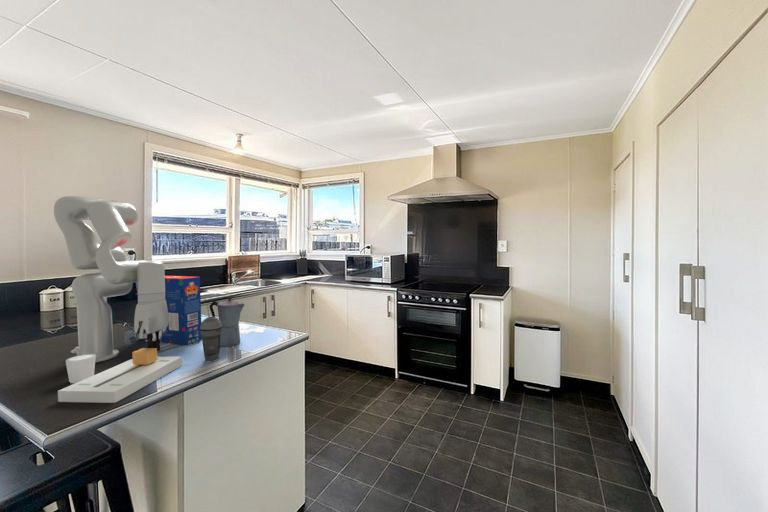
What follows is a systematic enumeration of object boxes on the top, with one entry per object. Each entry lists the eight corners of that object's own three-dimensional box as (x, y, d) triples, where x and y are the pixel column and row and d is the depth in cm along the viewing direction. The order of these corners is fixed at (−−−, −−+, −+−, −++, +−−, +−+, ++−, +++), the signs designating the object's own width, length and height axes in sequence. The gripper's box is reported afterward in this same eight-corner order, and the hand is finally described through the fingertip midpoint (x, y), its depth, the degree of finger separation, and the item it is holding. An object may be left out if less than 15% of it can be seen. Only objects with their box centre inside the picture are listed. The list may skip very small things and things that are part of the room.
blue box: (201, 340, 140) (199, 276, 139) (185, 345, 132) (182, 278, 131) (156, 334, 149) (154, 275, 148) (138, 339, 142) (136, 277, 141)
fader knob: (132, 364, 103) (132, 352, 103) (142, 359, 107) (142, 348, 107) (147, 364, 102) (147, 352, 102) (157, 360, 106) (156, 348, 106)
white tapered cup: (79, 375, 103) (78, 353, 103) (102, 374, 103) (101, 353, 103) (59, 384, 96) (58, 361, 96) (84, 383, 97) (83, 360, 96)
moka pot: (240, 347, 129) (239, 298, 129) (203, 347, 130) (201, 298, 129) (250, 340, 139) (249, 294, 138) (215, 340, 139) (214, 294, 138)
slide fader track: (58, 401, 85) (57, 390, 85) (137, 364, 111) (137, 356, 111) (115, 402, 85) (114, 391, 84) (182, 365, 111) (181, 356, 110)
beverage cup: (213, 363, 112) (211, 307, 111) (195, 362, 113) (193, 306, 113) (227, 356, 119) (226, 303, 118) (210, 355, 120) (209, 302, 120)
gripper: (157, 294, 115) (159, 344, 116) (122, 302, 100) (124, 359, 101) (178, 294, 115) (179, 344, 116) (145, 302, 100) (147, 359, 101)
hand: (154, 351), depth 108 cm, fingers closed
